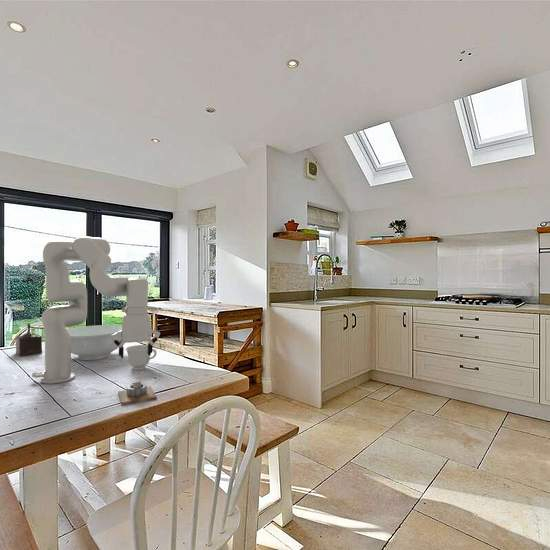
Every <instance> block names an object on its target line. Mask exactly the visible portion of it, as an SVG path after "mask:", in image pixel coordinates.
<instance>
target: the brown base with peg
mask: <svg viewBox="0 0 550 550" xmlns="http://www.w3.org/2000/svg"><path fill="white" fill-rule="evenodd" d="M141 383H142V381H141V380H134V381H133V382H132V384H133V388H140V387H141ZM117 395H118V398H120V399H119V401H120V406H125V405H124V404H126V405H131V404H137V403H141V402H142V401H143V402H149V401H155V400H157V395H156V393H155V391H154V389H153V388H152V386H147V394H146V395H144V396H141V397H135V398H133V397H127V389H125V390H120V391H119V390H118V392H117ZM143 402H142V403H143ZM130 403H131V404H130Z"/></svg>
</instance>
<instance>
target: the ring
mask: <svg viewBox="0 0 550 550" xmlns="http://www.w3.org/2000/svg"><path fill="white" fill-rule="evenodd" d="M147 387H148V384H147V383H144V382H141V387H140V388H133V383H131V384H128V385H127V386H126V390H127V397H133V398H135V397H141V396H144V395H146V394H147Z"/></svg>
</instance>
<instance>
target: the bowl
mask: <svg viewBox="0 0 550 550" xmlns="http://www.w3.org/2000/svg"><path fill="white" fill-rule="evenodd" d="M66 330H67V331H68V333H69V334H70V337H71V355H75V356H78V357H77V358H78V360H82V361H94V360H101V359H106V358H109V357H110V356H112V355H111V354H112V352H114V351H116V350H117V349H119V347H118V346H117V345H116V344H115V343H114V342H113V340H112V338H111V335H113V334H115V333H117V332H119V331H120V330H122V325H115V324H114V325H113V324H99V325H87V326H78V327H73V328H67V329H66ZM116 339H117V340H118V341H119V342H120V341H121V340H122V337H121V335H119V336H117V337H116Z"/></svg>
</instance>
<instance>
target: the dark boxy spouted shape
mask: <svg viewBox="0 0 550 550" xmlns="http://www.w3.org/2000/svg"><path fill="white" fill-rule="evenodd" d="M26 327H27V332H26V333H24V334H22V335H18V336H15V353H16V355H17V356H18V357H27V356H33V355H37V354H39V355H40V354H42V353H43V343H42V342H43V338H42V336H41V335H40V334H37V333H34V332H31V329H35V330H36V329H37V330H44V327H42V326H31V323H27V326H26Z"/></svg>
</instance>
